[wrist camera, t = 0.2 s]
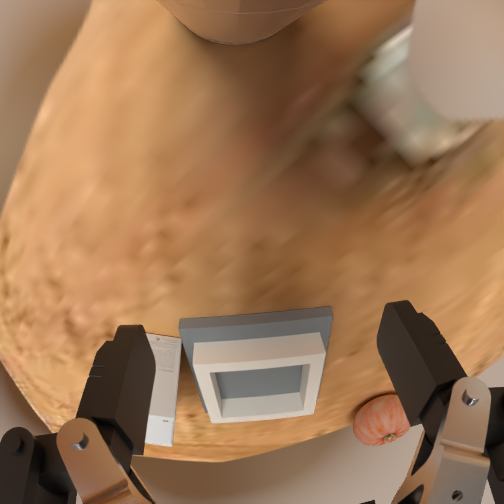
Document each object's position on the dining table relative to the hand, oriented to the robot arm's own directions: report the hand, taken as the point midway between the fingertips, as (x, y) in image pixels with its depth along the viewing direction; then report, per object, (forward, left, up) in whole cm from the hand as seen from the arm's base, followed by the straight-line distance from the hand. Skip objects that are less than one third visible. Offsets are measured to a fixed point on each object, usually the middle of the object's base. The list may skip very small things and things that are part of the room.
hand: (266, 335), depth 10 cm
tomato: (+41, +20, -18) cm, 49 cm away
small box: (+22, -12, -18) cm, 30 cm away
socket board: (+25, 0, -18) cm, 30 cm away
